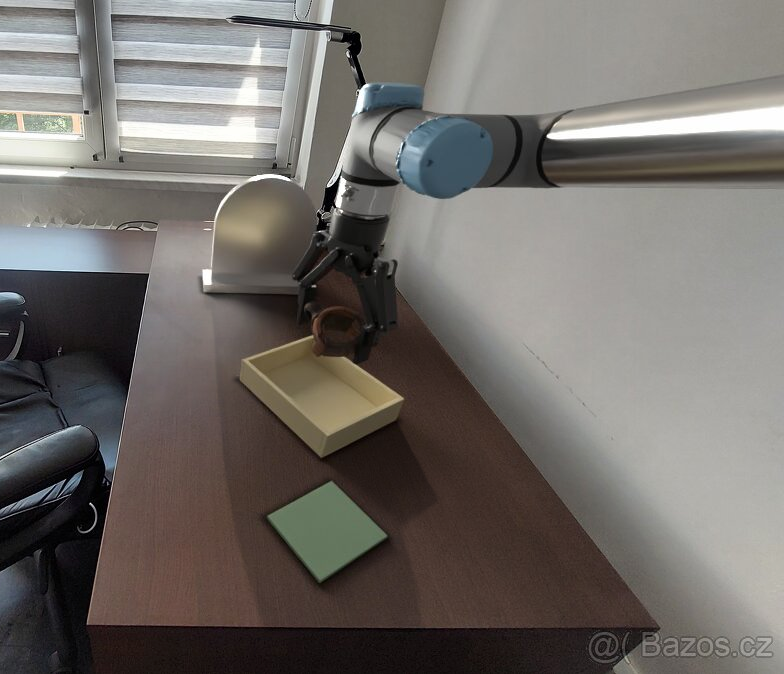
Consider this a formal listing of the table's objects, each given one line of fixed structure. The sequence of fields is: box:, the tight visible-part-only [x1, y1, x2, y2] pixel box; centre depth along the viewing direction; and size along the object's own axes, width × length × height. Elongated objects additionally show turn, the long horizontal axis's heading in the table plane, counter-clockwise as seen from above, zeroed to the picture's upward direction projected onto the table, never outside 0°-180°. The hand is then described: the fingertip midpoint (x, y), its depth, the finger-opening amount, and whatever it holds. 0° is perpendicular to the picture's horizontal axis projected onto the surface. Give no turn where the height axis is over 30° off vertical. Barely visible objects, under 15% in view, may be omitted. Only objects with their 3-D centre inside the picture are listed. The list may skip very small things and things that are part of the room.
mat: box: [266, 480, 388, 584], centre depth 61 cm, size 10×12×1 cm
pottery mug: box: [304, 300, 367, 358], centre depth 74 cm, size 12×10×8 cm
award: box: [201, 174, 318, 295], centre depth 111 cm, size 28×9×28 cm, turn 91°
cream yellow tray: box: [239, 334, 405, 459], centre depth 81 cm, size 22×18×5 cm
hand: (329, 340), depth 75 cm, fingers closed on pottery mug, 12 cm apart
